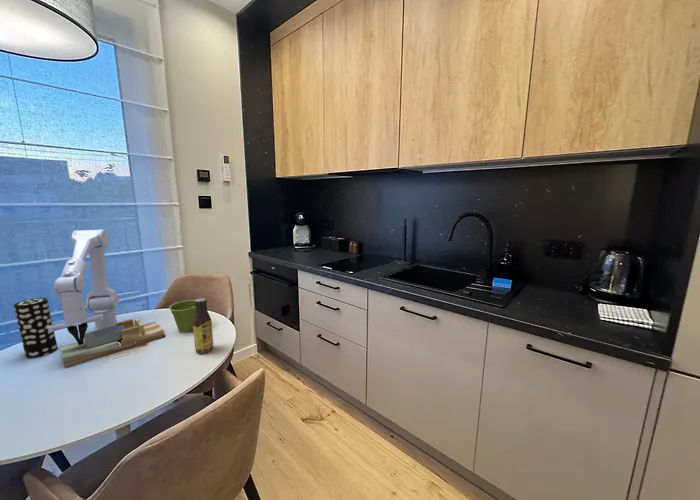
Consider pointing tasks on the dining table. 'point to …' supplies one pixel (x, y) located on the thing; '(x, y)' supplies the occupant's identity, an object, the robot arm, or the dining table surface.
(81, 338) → the robot arm
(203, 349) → the sauce bottle
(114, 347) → the tan piece
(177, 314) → the plant pot
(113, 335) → the metal block
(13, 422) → the dining table surface
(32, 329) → the white-spotted black cylinder
